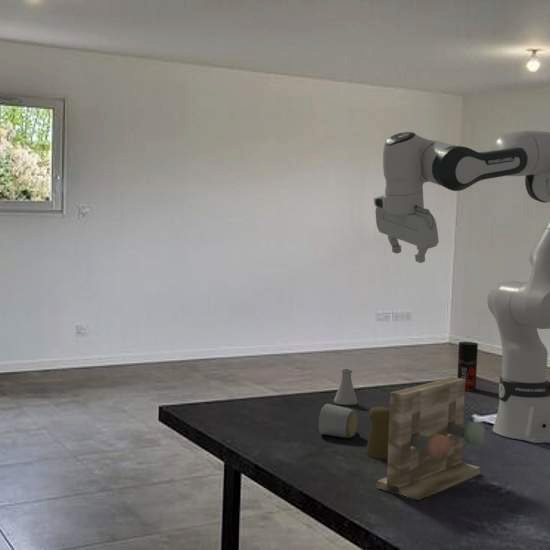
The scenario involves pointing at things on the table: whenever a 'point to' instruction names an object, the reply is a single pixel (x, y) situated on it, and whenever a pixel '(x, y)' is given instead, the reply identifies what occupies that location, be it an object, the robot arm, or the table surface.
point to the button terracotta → (432, 444)
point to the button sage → (468, 432)
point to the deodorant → (468, 364)
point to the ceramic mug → (337, 421)
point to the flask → (346, 390)
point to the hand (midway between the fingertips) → (408, 257)
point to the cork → (378, 433)
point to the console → (426, 421)
